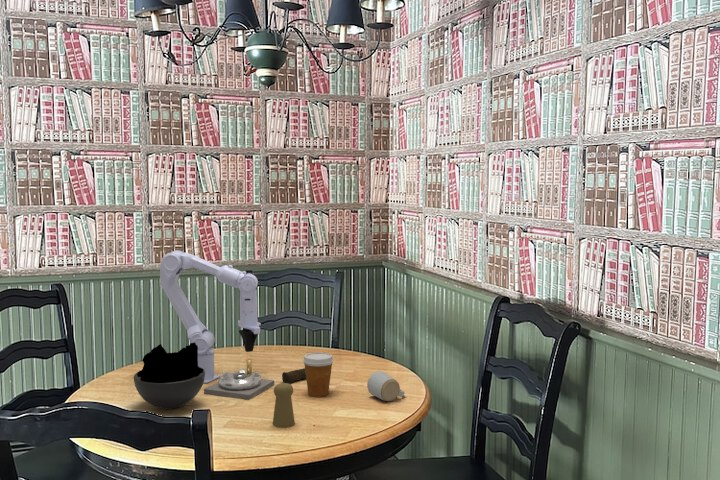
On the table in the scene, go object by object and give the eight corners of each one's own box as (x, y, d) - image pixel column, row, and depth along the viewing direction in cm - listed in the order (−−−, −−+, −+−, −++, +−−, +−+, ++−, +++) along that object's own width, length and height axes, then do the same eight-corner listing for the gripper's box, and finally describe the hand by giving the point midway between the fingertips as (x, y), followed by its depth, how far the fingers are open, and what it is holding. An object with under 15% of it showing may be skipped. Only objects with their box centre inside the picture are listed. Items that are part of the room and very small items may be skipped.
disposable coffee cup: (309, 400, 201) (309, 361, 200) (298, 391, 210) (298, 353, 209) (338, 396, 205) (338, 357, 204) (326, 387, 214) (326, 350, 213)
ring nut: (243, 392, 203) (243, 371, 202) (210, 386, 209) (209, 365, 208) (268, 381, 214) (268, 361, 214) (236, 375, 220) (236, 356, 220)
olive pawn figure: (273, 420, 184) (272, 381, 183) (295, 419, 185) (294, 380, 184) (272, 428, 178) (271, 387, 177) (294, 427, 179) (294, 387, 178)
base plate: (204, 393, 207) (203, 388, 207) (231, 379, 222) (231, 374, 222) (249, 399, 201) (249, 394, 201) (274, 384, 216) (274, 379, 216)
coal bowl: (121, 417, 186) (119, 350, 185) (153, 394, 206) (151, 334, 204) (190, 420, 184) (188, 353, 182) (215, 397, 203) (214, 336, 202)
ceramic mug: (381, 404, 198) (382, 379, 197) (366, 397, 205) (367, 372, 204) (410, 399, 203) (410, 374, 203) (394, 391, 210) (395, 368, 210)
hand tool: (288, 385, 217) (288, 371, 216) (281, 382, 220) (281, 368, 219) (334, 375, 229) (334, 361, 228) (326, 372, 232) (326, 359, 232)
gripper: (268, 313, 217) (269, 354, 218) (251, 306, 229) (251, 345, 230) (248, 315, 213) (249, 357, 214) (231, 308, 226) (232, 347, 227)
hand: (249, 351), depth 222 cm, fingers closed
